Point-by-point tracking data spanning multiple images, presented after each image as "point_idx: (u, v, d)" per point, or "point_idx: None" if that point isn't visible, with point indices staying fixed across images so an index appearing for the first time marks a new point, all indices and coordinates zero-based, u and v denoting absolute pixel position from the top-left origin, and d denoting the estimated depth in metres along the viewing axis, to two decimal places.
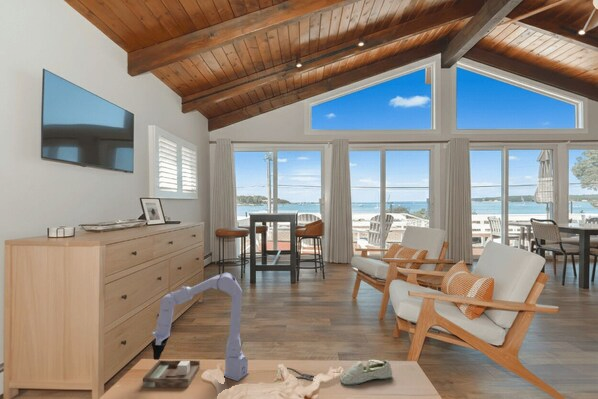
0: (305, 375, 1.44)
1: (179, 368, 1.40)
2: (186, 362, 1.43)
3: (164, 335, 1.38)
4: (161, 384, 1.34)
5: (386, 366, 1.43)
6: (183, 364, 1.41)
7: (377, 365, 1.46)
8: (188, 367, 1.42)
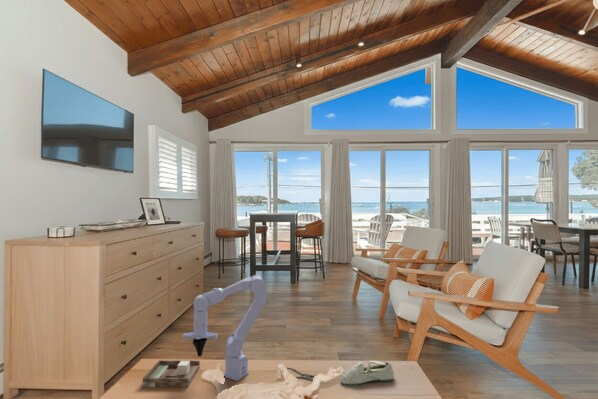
0: (305, 375, 1.44)
1: (179, 368, 1.40)
2: (186, 362, 1.43)
3: (207, 332, 1.44)
4: (161, 384, 1.34)
5: (387, 368, 1.41)
6: (183, 364, 1.41)
7: (379, 366, 1.45)
8: (188, 367, 1.42)
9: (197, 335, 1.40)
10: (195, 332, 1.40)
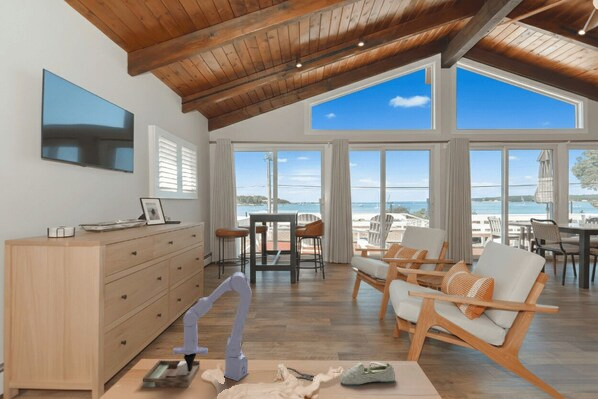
0: (305, 375, 1.44)
1: (179, 368, 1.40)
2: None
3: (197, 347, 1.44)
4: (161, 384, 1.34)
5: (388, 369, 1.40)
6: (183, 364, 1.41)
7: (380, 368, 1.44)
8: None
9: (187, 350, 1.40)
10: (185, 347, 1.40)
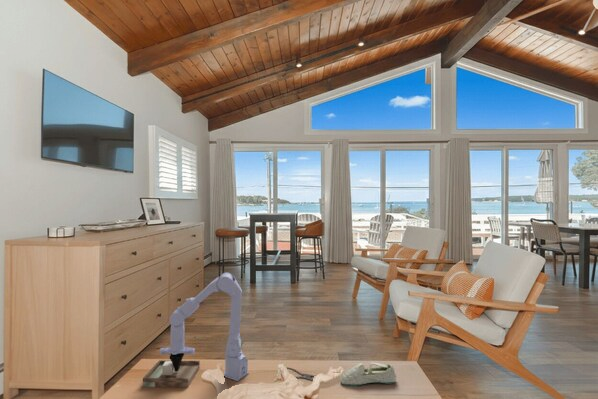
0: (305, 375, 1.44)
1: (164, 368, 1.40)
2: (171, 362, 1.43)
3: (184, 347, 1.44)
4: (161, 384, 1.34)
5: (389, 370, 1.39)
6: (168, 364, 1.41)
7: (381, 369, 1.43)
8: (173, 367, 1.42)
9: (174, 350, 1.40)
10: (172, 347, 1.40)
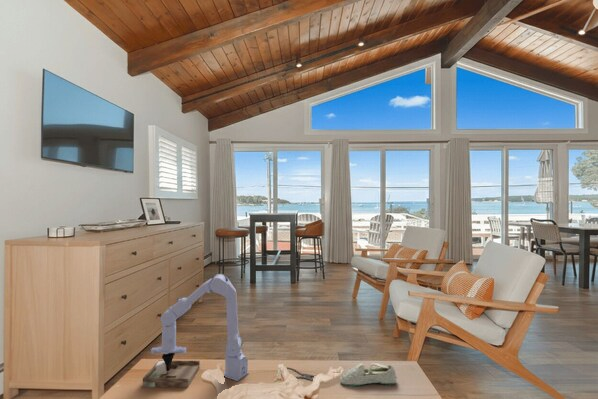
0: (305, 375, 1.44)
1: (157, 368, 1.40)
2: None
3: (175, 346, 1.44)
4: (161, 384, 1.34)
5: (389, 371, 1.38)
6: (161, 364, 1.41)
7: (382, 369, 1.42)
8: None
9: (165, 350, 1.40)
10: (163, 347, 1.40)
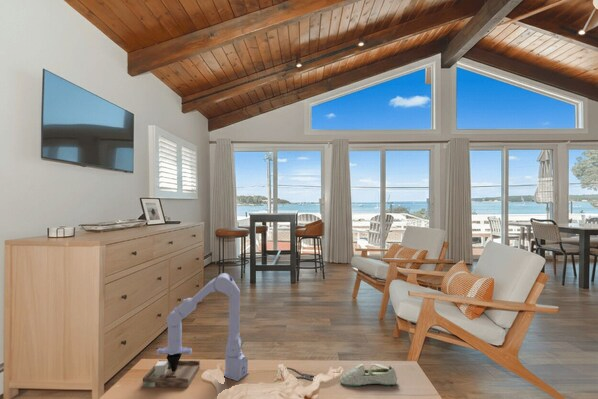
0: (305, 375, 1.44)
1: (157, 368, 1.40)
2: (164, 362, 1.43)
3: (181, 347, 1.44)
4: (161, 384, 1.34)
5: (390, 372, 1.37)
6: (161, 364, 1.41)
7: (382, 370, 1.42)
8: (166, 367, 1.42)
9: (171, 350, 1.40)
10: (169, 347, 1.40)
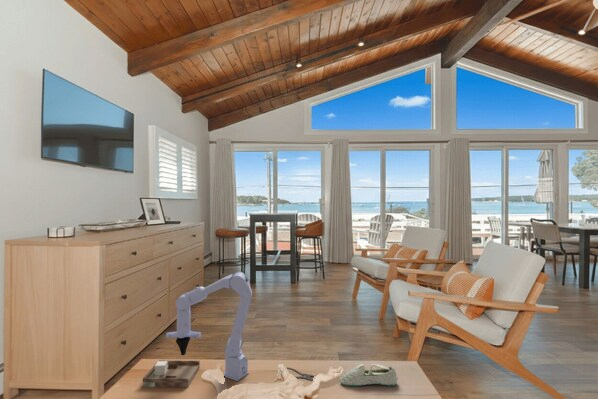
0: (305, 375, 1.44)
1: (157, 368, 1.40)
2: (164, 362, 1.43)
3: (190, 331, 1.45)
4: (161, 384, 1.34)
5: (390, 373, 1.37)
6: (161, 364, 1.41)
7: (383, 371, 1.41)
8: (166, 367, 1.42)
9: (180, 334, 1.41)
10: (178, 331, 1.42)
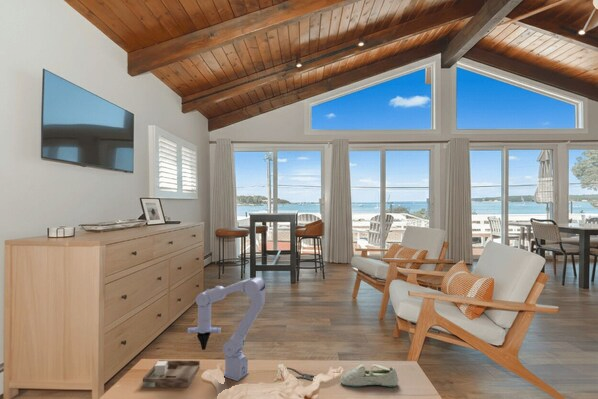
0: (305, 375, 1.44)
1: (157, 368, 1.40)
2: (164, 362, 1.43)
3: (210, 326, 1.50)
4: (161, 384, 1.34)
5: (390, 373, 1.36)
6: (161, 364, 1.41)
7: (383, 371, 1.41)
8: (166, 367, 1.42)
9: (201, 329, 1.46)
10: (199, 326, 1.47)
